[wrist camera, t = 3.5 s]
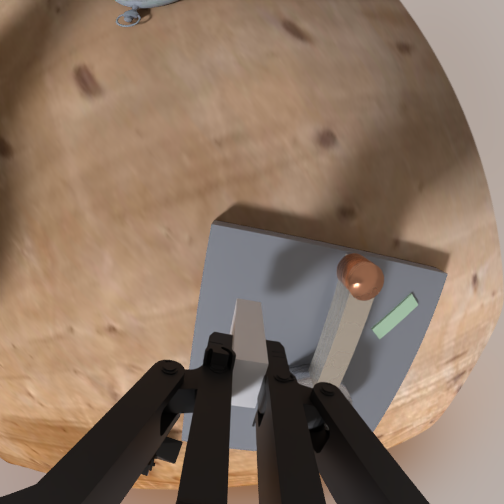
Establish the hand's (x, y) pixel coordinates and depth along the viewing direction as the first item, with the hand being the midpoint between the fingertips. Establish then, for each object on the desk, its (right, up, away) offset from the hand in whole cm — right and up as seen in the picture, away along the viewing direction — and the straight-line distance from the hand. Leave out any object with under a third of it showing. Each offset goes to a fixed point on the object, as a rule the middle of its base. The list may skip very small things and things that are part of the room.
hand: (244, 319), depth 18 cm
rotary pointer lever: (+5, -7, +5) cm, 10 cm away
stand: (+5, -6, +7) cm, 10 cm away
